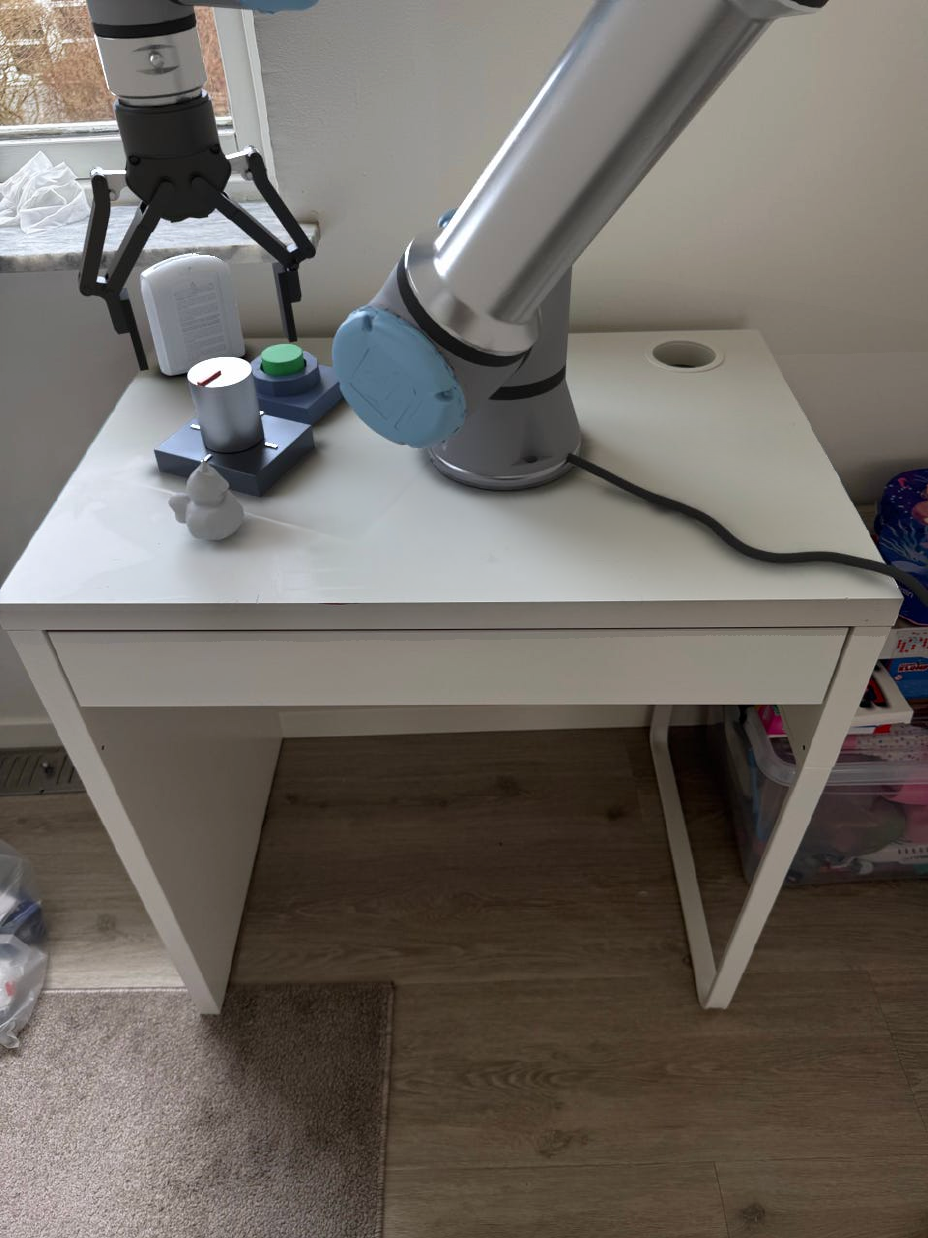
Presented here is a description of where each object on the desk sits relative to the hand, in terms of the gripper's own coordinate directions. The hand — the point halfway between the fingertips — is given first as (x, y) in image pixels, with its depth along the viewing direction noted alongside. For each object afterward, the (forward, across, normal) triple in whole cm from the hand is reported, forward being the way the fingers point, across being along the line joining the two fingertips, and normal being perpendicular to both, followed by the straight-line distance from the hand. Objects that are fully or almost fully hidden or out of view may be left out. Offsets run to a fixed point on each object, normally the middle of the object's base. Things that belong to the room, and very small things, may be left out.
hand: (218, 350), depth 87 cm
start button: (+8, +7, +11) cm, 15 cm away
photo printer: (+12, 0, +23) cm, 26 cm away
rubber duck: (+12, -5, -11) cm, 17 cm away
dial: (+9, 0, 0) cm, 9 cm away
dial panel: (+12, 0, 0) cm, 12 cm away
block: (+12, +7, +11) cm, 17 cm away
